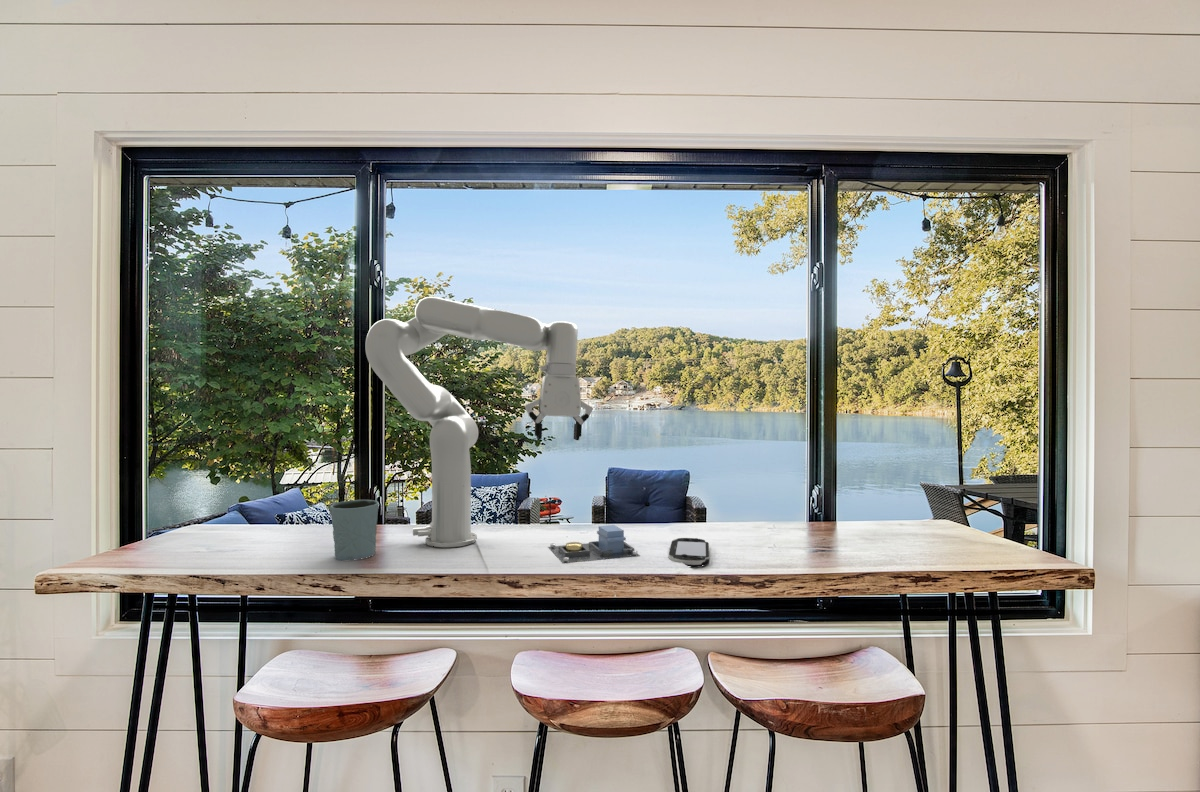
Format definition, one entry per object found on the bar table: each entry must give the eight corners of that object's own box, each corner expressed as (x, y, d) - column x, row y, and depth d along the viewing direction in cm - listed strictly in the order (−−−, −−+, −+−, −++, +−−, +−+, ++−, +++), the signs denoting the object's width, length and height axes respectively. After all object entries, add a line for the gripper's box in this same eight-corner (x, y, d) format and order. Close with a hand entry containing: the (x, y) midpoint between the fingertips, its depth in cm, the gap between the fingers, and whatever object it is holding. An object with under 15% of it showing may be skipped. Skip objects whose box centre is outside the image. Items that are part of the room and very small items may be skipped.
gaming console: (672, 545, 141) (672, 535, 141) (709, 547, 140) (708, 536, 140) (667, 568, 122) (667, 556, 122) (709, 570, 121) (709, 558, 121)
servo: (609, 555, 127) (609, 532, 127) (596, 545, 135) (596, 524, 135) (625, 553, 129) (625, 531, 129) (612, 544, 137) (612, 523, 137)
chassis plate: (562, 567, 121) (562, 558, 121) (547, 551, 134) (547, 542, 134) (640, 560, 127) (640, 551, 127) (618, 544, 140) (618, 536, 140)
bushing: (566, 555, 127) (566, 546, 127) (565, 551, 131) (565, 542, 131) (582, 554, 128) (582, 545, 128) (580, 550, 131) (580, 541, 131)
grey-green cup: (386, 550, 134) (386, 500, 134) (364, 562, 124) (364, 508, 124) (345, 549, 135) (345, 499, 135) (320, 561, 125) (320, 507, 125)
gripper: (529, 369, 136) (526, 440, 136) (598, 373, 141) (594, 441, 141) (524, 370, 143) (521, 437, 143) (589, 373, 149) (586, 438, 149)
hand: (557, 439), depth 142 cm, fingers open, 9 cm apart
